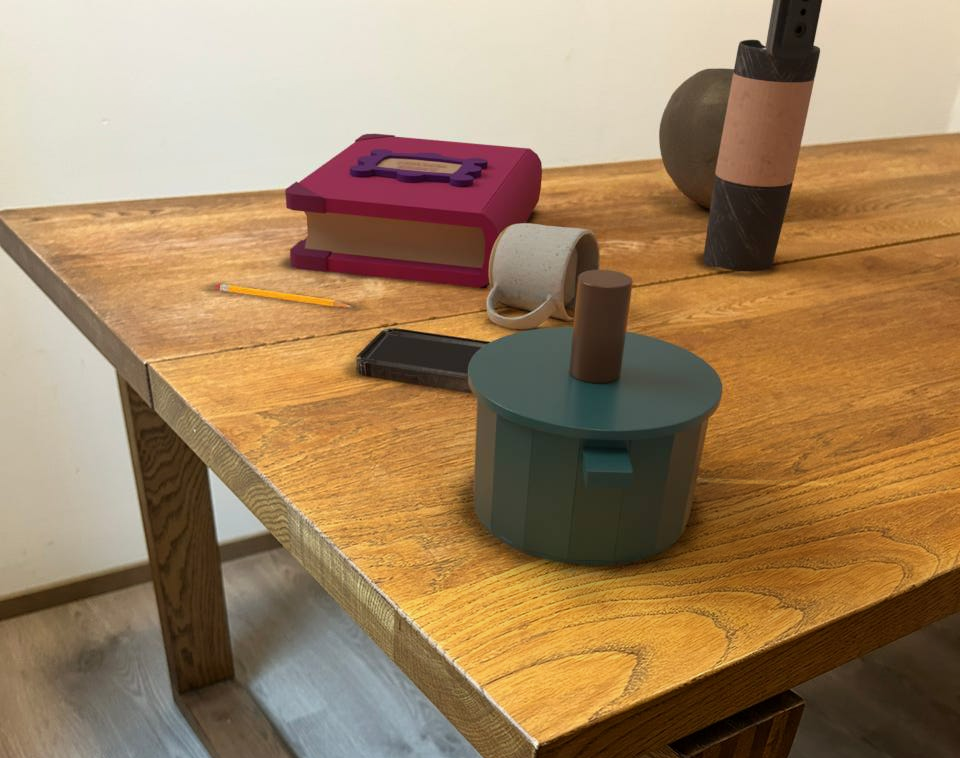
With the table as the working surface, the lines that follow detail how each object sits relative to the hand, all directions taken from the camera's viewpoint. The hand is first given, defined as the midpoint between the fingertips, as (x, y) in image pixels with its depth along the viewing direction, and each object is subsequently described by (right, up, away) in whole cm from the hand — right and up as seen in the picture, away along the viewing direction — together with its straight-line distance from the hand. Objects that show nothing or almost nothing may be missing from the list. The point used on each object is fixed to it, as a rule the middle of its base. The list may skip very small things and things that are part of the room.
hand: (787, 56), depth 55 cm
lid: (-10, -17, +4) cm, 20 cm away
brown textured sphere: (+11, +21, +67) cm, 71 cm away
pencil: (-35, -1, +37) cm, 51 cm away
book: (-23, +11, +53) cm, 59 cm away
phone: (-19, -10, +26) cm, 33 cm away
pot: (-10, -24, +9) cm, 27 cm away
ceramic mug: (-12, -3, +36) cm, 38 cm away
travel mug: (+10, +7, +50) cm, 52 cm away
